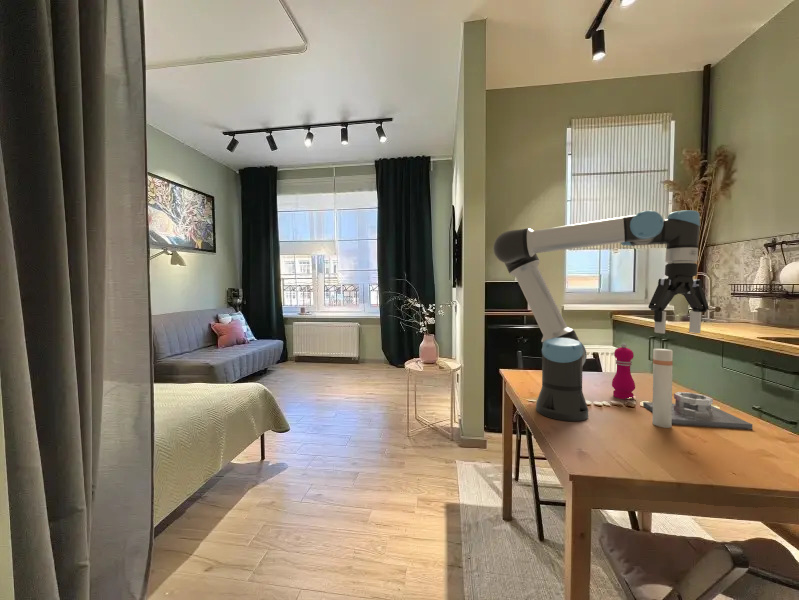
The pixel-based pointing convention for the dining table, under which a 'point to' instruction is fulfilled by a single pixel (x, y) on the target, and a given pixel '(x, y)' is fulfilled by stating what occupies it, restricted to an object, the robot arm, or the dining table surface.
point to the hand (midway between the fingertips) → (677, 332)
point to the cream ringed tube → (662, 387)
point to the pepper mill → (623, 373)
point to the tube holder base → (700, 412)
